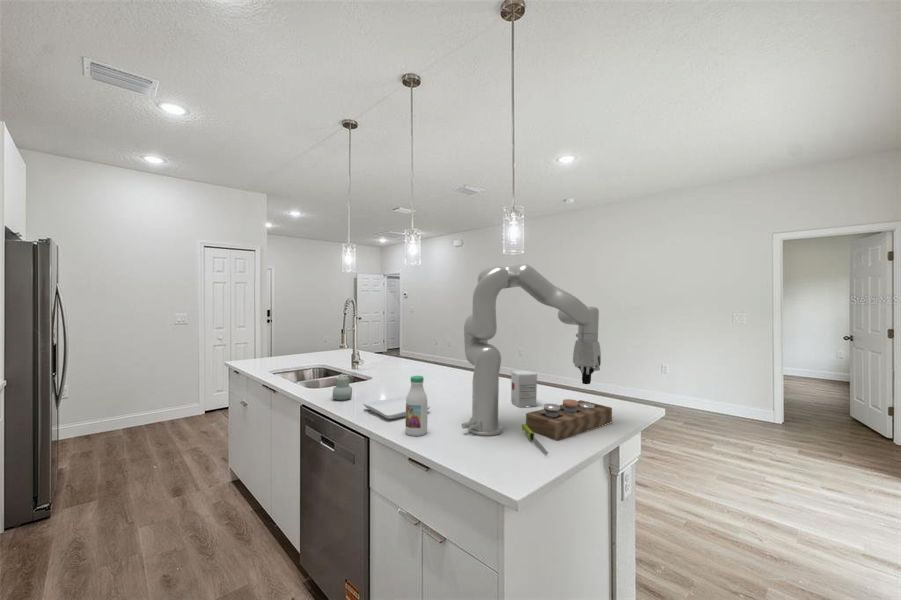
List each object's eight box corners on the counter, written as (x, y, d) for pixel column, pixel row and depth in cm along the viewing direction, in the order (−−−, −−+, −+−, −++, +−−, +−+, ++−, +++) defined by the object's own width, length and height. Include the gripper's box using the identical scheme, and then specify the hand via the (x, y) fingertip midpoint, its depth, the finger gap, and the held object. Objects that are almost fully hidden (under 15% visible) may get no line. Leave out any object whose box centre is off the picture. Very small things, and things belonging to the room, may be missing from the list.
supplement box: (510, 402, 179) (510, 370, 179) (528, 401, 181) (528, 370, 181) (518, 408, 170) (518, 374, 170) (536, 407, 172) (537, 373, 172)
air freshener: (350, 401, 178) (350, 380, 178) (332, 402, 176) (332, 380, 176) (352, 395, 188) (352, 375, 188) (334, 396, 187) (335, 375, 187)
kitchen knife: (550, 461, 116) (550, 452, 116) (546, 462, 116) (546, 452, 115) (524, 431, 138) (525, 423, 138) (521, 431, 138) (521, 423, 137)
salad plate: (431, 413, 161) (431, 405, 161) (387, 423, 147) (388, 414, 147) (403, 403, 177) (404, 395, 177) (362, 411, 164) (362, 403, 164)
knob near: (553, 425, 136) (553, 408, 136) (540, 421, 140) (540, 405, 140) (562, 422, 139) (563, 406, 139) (550, 418, 143) (550, 402, 143)
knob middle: (572, 420, 142) (572, 403, 142) (559, 416, 147) (559, 400, 147) (581, 417, 146) (581, 401, 146) (568, 413, 150) (568, 398, 150)
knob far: (589, 422, 149) (589, 407, 149) (576, 419, 153) (576, 404, 153) (597, 420, 152) (597, 405, 152) (585, 416, 157) (585, 402, 157)
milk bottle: (417, 427, 142) (418, 373, 142) (431, 433, 136) (432, 376, 137) (401, 432, 137) (401, 376, 137) (414, 438, 131) (415, 379, 131)
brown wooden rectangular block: (557, 440, 130) (557, 423, 130) (525, 429, 142) (526, 413, 142) (611, 422, 151) (611, 407, 151) (580, 414, 162) (580, 400, 162)
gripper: (566, 336, 157) (564, 381, 156) (599, 339, 145) (597, 388, 144) (577, 335, 161) (575, 379, 161) (610, 339, 149) (608, 386, 149)
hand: (586, 383), depth 153 cm, fingers closed
